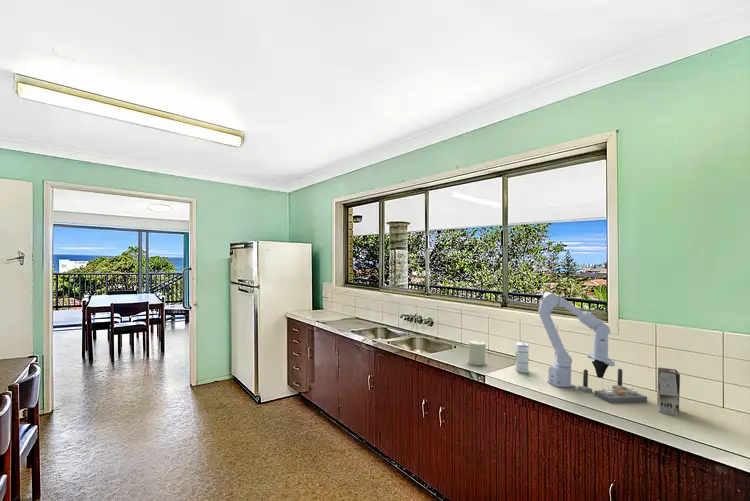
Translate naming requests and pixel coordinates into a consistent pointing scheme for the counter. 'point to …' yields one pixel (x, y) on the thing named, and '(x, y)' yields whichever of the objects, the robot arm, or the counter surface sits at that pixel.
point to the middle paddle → (620, 391)
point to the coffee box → (668, 391)
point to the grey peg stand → (585, 383)
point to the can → (477, 352)
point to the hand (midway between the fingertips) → (600, 377)
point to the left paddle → (608, 391)
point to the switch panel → (620, 397)
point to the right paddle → (632, 391)
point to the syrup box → (522, 357)
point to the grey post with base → (619, 381)
